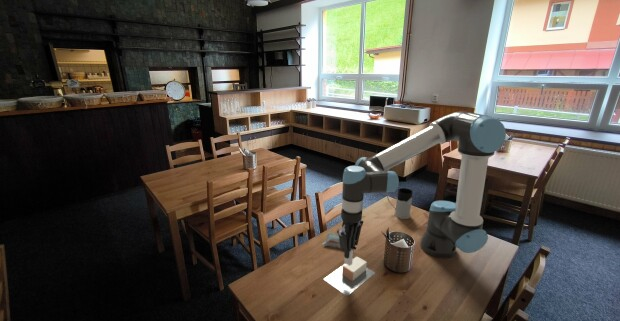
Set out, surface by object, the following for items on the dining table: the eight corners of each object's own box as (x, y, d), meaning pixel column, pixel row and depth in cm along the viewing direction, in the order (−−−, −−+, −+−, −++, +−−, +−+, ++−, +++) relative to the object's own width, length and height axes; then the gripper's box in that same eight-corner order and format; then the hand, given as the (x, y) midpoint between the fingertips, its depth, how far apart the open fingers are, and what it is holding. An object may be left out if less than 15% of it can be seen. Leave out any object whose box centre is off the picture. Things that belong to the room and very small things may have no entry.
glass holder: (408, 220, 157) (411, 195, 152) (383, 213, 164) (385, 189, 159) (411, 213, 164) (415, 189, 159) (387, 207, 171) (389, 184, 166)
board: (351, 261, 124) (351, 258, 124) (375, 275, 116) (375, 272, 115) (323, 281, 112) (323, 279, 112) (347, 298, 104) (347, 296, 103)
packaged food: (346, 253, 129) (347, 244, 127) (321, 248, 132) (321, 239, 131) (350, 243, 137) (350, 234, 135) (326, 238, 140) (326, 229, 139)
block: (342, 274, 114) (356, 264, 120) (352, 281, 111) (366, 270, 117) (342, 266, 113) (356, 256, 119) (352, 272, 110) (366, 262, 115)
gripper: (354, 199, 110) (351, 251, 117) (332, 210, 101) (329, 266, 109) (371, 206, 104) (366, 260, 112) (348, 218, 96) (344, 276, 103)
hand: (348, 263), depth 110 cm, fingers closed
